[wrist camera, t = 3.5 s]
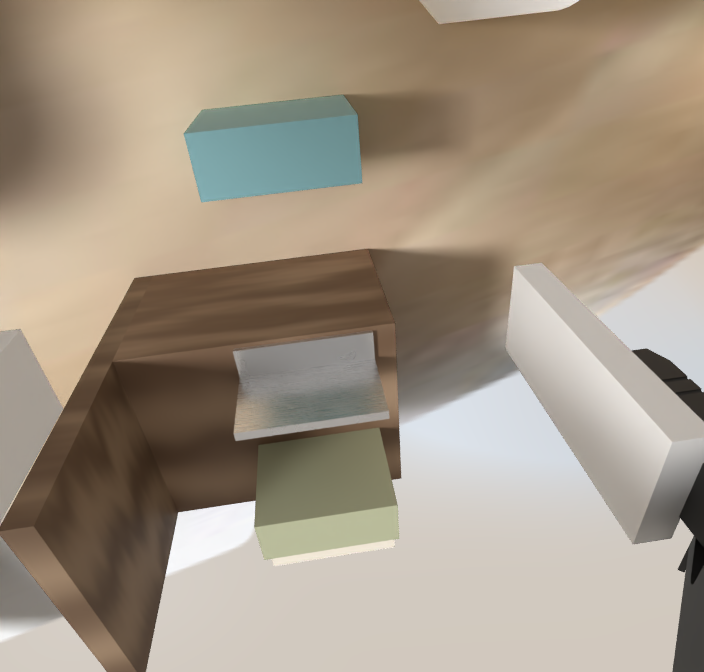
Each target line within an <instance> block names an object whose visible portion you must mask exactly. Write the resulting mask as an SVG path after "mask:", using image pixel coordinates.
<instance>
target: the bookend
mask: <svg viewBox="0 0 704 672" xmlns="http://www.w3.org/2000/svg"><path fill="white" fill-rule="evenodd" d="M233 354H234V358H235V362H236V366H237V369H238V373H239V377H240V379H239V388H238V397H237V406H236V415H235V424H234V433H233V434H234V437H235V440H236V441H239V440H246V439H253V438H260V437H267V436H274V435H281V434H287V433H294V432H301V431H308V430H315V429H322V428H329V427H336V426H343V425H349V424H356V423H363V422H370V421H377V420H384V419H389V409H388V406H387V402H386V398H385V394H384V391H383V387H382V383H381V380H380V376H379V372H378V368H377V365H376V361H375V353H374V339H373V331H372V330H370V331H362V332H355V333H347V334H340V335H333V336H325V337H318V338H310V339H303V340H296V341H288V342H281V343H273V344H266V345H259V346H251V347H244V348H236V349H233Z"/></svg>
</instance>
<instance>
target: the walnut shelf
mask: <svg viewBox="0 0 704 672" xmlns="http://www.w3.org/2000/svg"><path fill="white" fill-rule="evenodd" d="M370 330H372V331H373V339H374V353H375V361H376V365H377V368H378V372H379V376H380V380H381V383H382V387H383V391H384V394H385V398H386V402H387V406H388V409H389V419H384V420H377V421H370V422H363V423H356V424H349V425H343V426H336V427H329V428H322V429H315V430H308V431H301V432H294V433H287V434H281V435H274V436H267V437H260V438H253V439H246V440H239V441H236V440H235V437H234V434H233V433H234V424H235V415H236V406H237V397H238V388H239V379H240V377H239V373H238V369H237V366H236V362H235V358H234V354H233V349H236V348H244V347H251V346H259V345H266V344H273V343H281V342H288V341H296V340H303V339H310V338H318V337H325V336H333V335H340V334H347V333H355V332H362V331H370ZM372 428H379V429H380V433H381V437H382V441H383V446H384V450H385V454H386V458H387V463H388V467H389V471H390V475H391V480H393V479H400V478H401V462H400V439H399V438H400V437H399V411H398V386H397V361H396V336H395V322H394V319H393V316H392V314H391V311H390V308H389V305H388V303H387V300H386V297H385V294H384V292H383V289H382V286H381V283H380V281H379V278H378V275H377V273H376V270H375V267H374V264H373V262H372V259H371V256H370V253H369V251H368V249H363V250H355V251H347V252H339V253H331V254H323V255H316V256H308V257H300V258H292V259H284V260H276V261H268V262H260V263H252V264H244V265H236V266H228V267H220V268H212V269H204V270H197V271H189V272H181V273H173V274H165V275H157V276H149V277H141V278H134V280H133V282H132V284H131V286H130V288H129V289H128V291H127V293H126V295H125V297H124V299H123V300H122V302H121V304H120V306H119V308H118V310H117V312H116V313H115V315H114V317H113V319H112V321H111V323H110V324H109V326H108V328H107V330H106V332H105V334H104V336H103V337H102V339H101V341H100V343H99V345H98V347H97V349H96V350H95V352H94V354H93V356H92V358H91V360H90V361H89V363H88V365H87V367H86V369H85V371H84V373H83V374H82V376H81V378H80V380H79V382H78V384H77V386H76V387H75V389H74V391H73V393H72V395H71V397H70V398H69V400H68V402H67V404H66V406H65V408H64V410H63V411H62V413H61V415H60V417H59V419H58V421H57V423H56V424H55V426H54V428H53V430H52V432H51V434H50V435H49V437H48V439H47V441H46V443H45V445H44V447H43V448H42V450H41V452H40V454H39V456H38V458H37V459H36V461H35V463H34V465H33V467H32V469H31V471H30V472H29V474H28V476H27V478H26V480H25V482H24V484H23V485H22V487H21V489H20V491H19V493H18V495H17V496H16V498H15V500H14V502H13V504H12V506H11V508H10V509H9V511H8V513H7V515H6V517H5V519H4V521H3V522H2V524H1V526H0V536H1V537H2V538H3V539H4V541H5V542H6V543H7V545H8V546H9V547H10V548H11V550H12V551H13V552H14V554H15V555H16V556H17V557H18V559H19V560H20V561H21V562H22V564H23V565H24V566H25V568H26V569H27V570H28V571H29V573H30V574H31V575H32V577H33V578H34V579H35V580H36V582H37V583H38V584H39V585H40V587H41V588H42V589H43V591H44V592H45V593H46V594H47V596H48V597H49V598H50V600H51V601H52V602H53V603H54V605H55V606H56V607H57V608H58V610H59V611H60V612H61V614H62V615H63V616H64V617H65V619H66V620H67V621H68V623H69V624H70V625H71V626H72V628H73V629H74V630H75V631H76V633H77V634H78V635H79V637H80V638H81V639H82V640H83V642H84V643H85V644H86V645H87V647H88V648H89V649H90V651H91V652H92V653H93V654H94V655H95V657H96V658H97V659H98V661H99V662H100V663H101V664H102V666H103V667H104V668H105V670H106V671H107V672H146V668H147V663H148V658H149V653H150V648H151V643H152V638H153V633H154V629H155V623H156V619H157V613H158V609H159V604H160V599H161V594H162V589H163V584H164V579H165V574H166V569H167V565H168V560H169V555H170V550H171V545H172V540H173V535H174V530H175V525H176V520H177V515H178V512H183V511H189V510H196V509H203V508H209V507H216V506H222V505H229V504H236V503H242V502H249V501H255V500H256V485H257V465H258V445H263V444H270V443H276V442H283V441H290V440H297V439H304V438H311V437H318V436H324V435H331V434H338V433H345V432H352V431H359V430H365V429H372Z"/></svg>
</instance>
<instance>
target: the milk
mask: <svg viewBox="0 0 704 672" xmlns="http://www.w3.org/2000/svg"><path fill="white" fill-rule="evenodd" d="M419 1H420V2H421V3H422V5H423V6H424V7H425V8H426V9H427V11H428V12H429V13H430V14H431V15H432V17H433V18H434V19H435V20H436V21H437V23H438V24H444V23H453V22H462V21H471V20H479V19H488V18H497V17H505V16H514V15H523V14H531V13H540V12H549V11H557V10H561V9H564V8H567V7H569V6H571V5H573V4H574V3H576V2H578V1H579V0H419Z"/></svg>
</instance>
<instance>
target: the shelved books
mask: <svg viewBox="0 0 704 672" xmlns="http://www.w3.org/2000/svg"><path fill="white" fill-rule="evenodd" d="M254 528H255V531H256V534H257V537H258V540H259V544H260V547H261V550H262V553H263V557H264V559H265V560H268V559H272V561H273V565H274V566H278V565H284V564H291V563H297V562H303V561H310V560H316V559H322V558H329V557H334V556H341V555H347V554H353V553H360V552H366V551H372V550H379V549H385V548H391V547H395V546H394V539H399V526H398V505H397V501H396V497H395V492H394V488H393V484H392V480H391V475H390V471H389V467H388V463H387V458H386V454H385V450H384V446H383V441H382V437H381V433H380V429H379V428H372V429H365V430H359V431H352V432H345V433H338V434H331V435H324V436H318V437H311V438H304V439H297V440H290V441H283V442H276V443H270V444H263V445H258V465H257V485H256V505H255V525H254Z"/></svg>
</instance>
